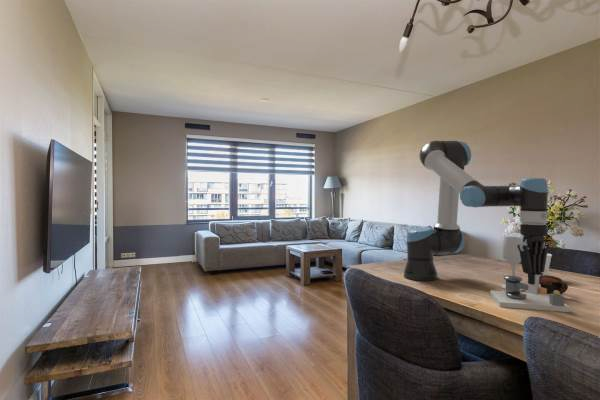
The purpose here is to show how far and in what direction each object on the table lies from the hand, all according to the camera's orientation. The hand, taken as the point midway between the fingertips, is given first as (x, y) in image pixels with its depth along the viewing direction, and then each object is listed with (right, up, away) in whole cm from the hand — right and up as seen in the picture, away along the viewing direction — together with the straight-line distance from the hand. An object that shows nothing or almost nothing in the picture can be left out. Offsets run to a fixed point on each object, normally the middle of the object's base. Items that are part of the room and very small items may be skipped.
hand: (533, 293), depth 111 cm
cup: (+32, -5, +41) cm, 52 cm away
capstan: (0, -3, +4) cm, 6 cm away
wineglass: (+9, -5, +25) cm, 27 cm away
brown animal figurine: (+18, -5, +15) cm, 24 cm away
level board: (+2, -5, +6) cm, 8 cm away
